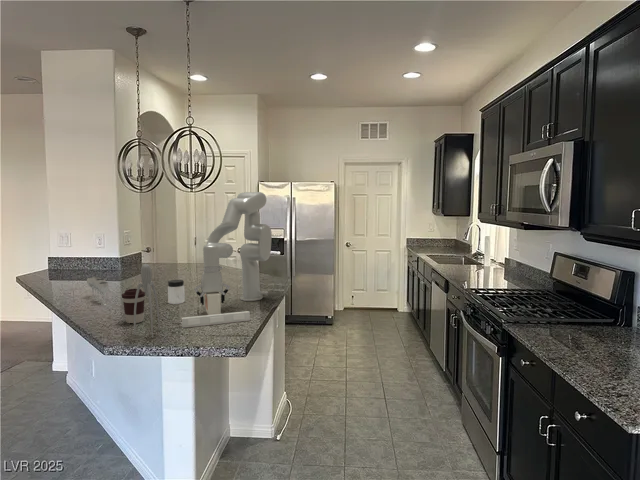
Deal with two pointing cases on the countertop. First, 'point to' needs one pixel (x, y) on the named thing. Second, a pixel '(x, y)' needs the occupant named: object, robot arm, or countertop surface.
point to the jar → (176, 292)
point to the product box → (212, 303)
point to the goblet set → (98, 287)
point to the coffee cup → (129, 305)
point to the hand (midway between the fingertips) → (212, 303)
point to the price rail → (215, 319)
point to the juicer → (146, 284)
